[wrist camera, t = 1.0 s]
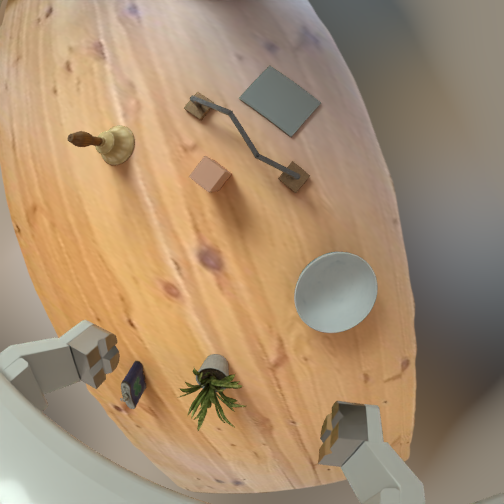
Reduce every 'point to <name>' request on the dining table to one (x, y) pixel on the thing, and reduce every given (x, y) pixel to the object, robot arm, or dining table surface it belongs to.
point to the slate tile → (280, 100)
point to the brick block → (210, 174)
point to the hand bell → (108, 143)
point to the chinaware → (335, 292)
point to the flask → (133, 385)
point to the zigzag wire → (248, 141)
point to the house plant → (212, 387)
